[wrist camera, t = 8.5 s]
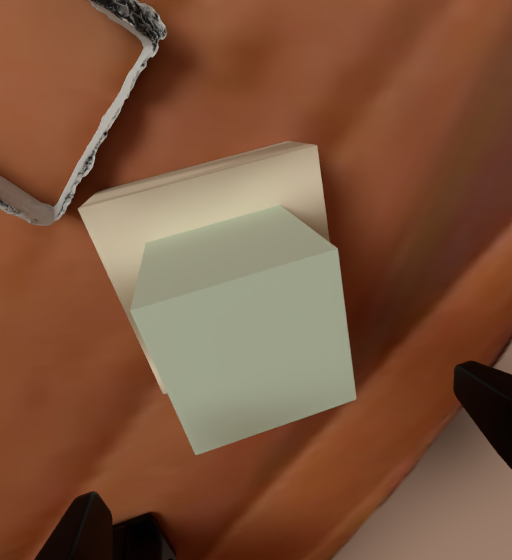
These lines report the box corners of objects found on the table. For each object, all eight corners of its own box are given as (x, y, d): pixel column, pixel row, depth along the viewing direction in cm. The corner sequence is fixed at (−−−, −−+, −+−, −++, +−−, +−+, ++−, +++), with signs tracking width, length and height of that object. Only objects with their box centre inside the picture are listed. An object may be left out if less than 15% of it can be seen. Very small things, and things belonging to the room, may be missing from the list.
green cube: (301, 317, 18) (356, 399, 13) (188, 352, 17) (195, 455, 12) (280, 204, 15) (337, 248, 10) (145, 242, 15) (130, 311, 9)
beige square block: (315, 302, 23) (342, 335, 19) (164, 349, 22) (163, 394, 18) (288, 140, 18) (317, 145, 15) (97, 191, 17) (77, 208, 14)
